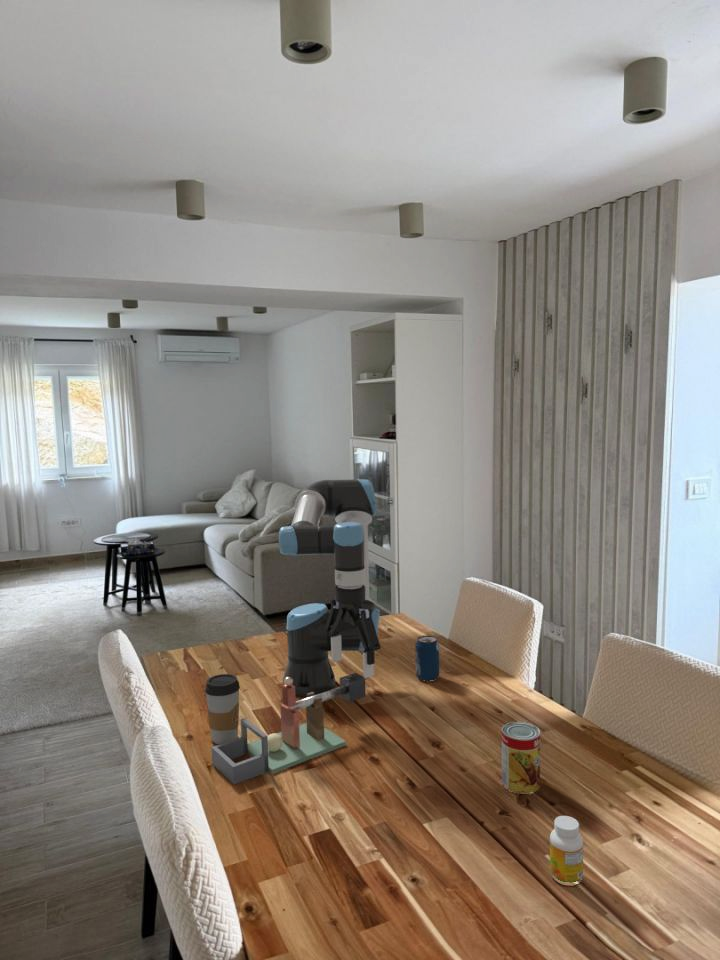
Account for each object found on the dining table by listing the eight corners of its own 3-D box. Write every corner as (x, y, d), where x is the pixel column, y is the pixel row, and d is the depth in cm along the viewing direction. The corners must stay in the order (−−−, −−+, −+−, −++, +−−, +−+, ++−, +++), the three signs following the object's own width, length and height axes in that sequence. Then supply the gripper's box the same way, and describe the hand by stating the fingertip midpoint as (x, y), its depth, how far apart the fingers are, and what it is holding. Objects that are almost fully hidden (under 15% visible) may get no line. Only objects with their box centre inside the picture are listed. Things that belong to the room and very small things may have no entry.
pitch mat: (313, 724, 171) (313, 720, 171) (345, 745, 160) (345, 741, 160) (242, 749, 159) (242, 745, 159) (272, 774, 148) (272, 769, 148)
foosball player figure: (313, 734, 165) (311, 691, 164) (324, 742, 162) (323, 697, 160) (307, 736, 164) (305, 693, 163) (318, 744, 160) (316, 700, 159)
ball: (277, 744, 159) (276, 728, 158) (285, 751, 156) (285, 734, 155) (262, 750, 156) (261, 733, 156) (270, 757, 153) (270, 740, 153)
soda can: (443, 676, 199) (442, 637, 198) (433, 684, 194) (432, 644, 192) (422, 671, 203) (421, 633, 202) (411, 679, 197) (411, 640, 196)
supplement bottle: (544, 866, 116) (545, 814, 115) (575, 864, 117) (575, 811, 116) (556, 888, 111) (557, 833, 110) (588, 886, 111) (588, 831, 110)
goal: (245, 751, 158) (244, 718, 157) (268, 771, 149) (267, 735, 148) (212, 763, 153) (210, 729, 152) (234, 784, 144) (232, 748, 143)
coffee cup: (234, 748, 159) (231, 688, 158) (201, 745, 161) (198, 685, 160) (247, 731, 168) (244, 674, 166) (215, 729, 169) (213, 672, 168)
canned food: (546, 792, 138) (546, 737, 137) (510, 797, 137) (510, 741, 136) (530, 772, 146) (530, 719, 145) (496, 776, 145) (496, 723, 144)
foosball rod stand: (354, 713, 174) (352, 652, 172) (368, 721, 169) (367, 659, 167) (280, 740, 160) (277, 674, 159) (293, 749, 156) (290, 682, 154)
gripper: (310, 578, 174) (312, 658, 176) (368, 598, 154) (370, 687, 156) (333, 574, 178) (336, 651, 180) (393, 592, 158) (395, 679, 160)
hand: (352, 668), depth 168 cm, fingers open, 13 cm apart
